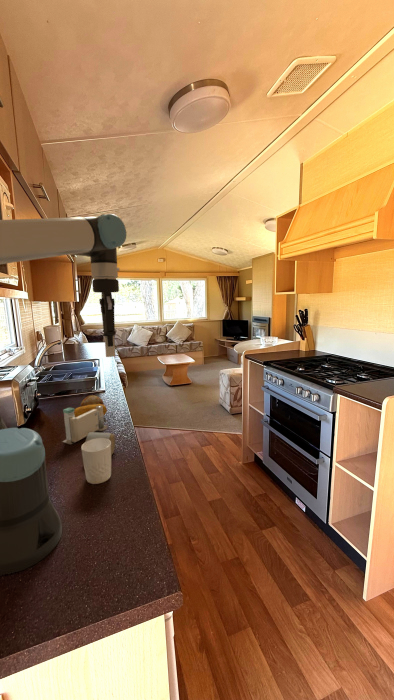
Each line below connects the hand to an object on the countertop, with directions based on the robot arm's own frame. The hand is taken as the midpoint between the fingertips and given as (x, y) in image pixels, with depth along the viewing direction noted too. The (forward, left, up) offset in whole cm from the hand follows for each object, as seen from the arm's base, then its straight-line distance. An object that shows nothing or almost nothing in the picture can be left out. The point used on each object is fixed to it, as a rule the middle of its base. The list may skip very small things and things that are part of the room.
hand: (110, 356), depth 93 cm
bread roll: (-4, +47, -33) cm, 58 cm away
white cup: (-7, -12, -33) cm, 35 cm away
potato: (-6, +33, -33) cm, 47 cm away
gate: (-9, +17, -32) cm, 37 cm away
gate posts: (-9, +19, -32) cm, 38 cm away
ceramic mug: (-5, +2, -33) cm, 33 cm away
